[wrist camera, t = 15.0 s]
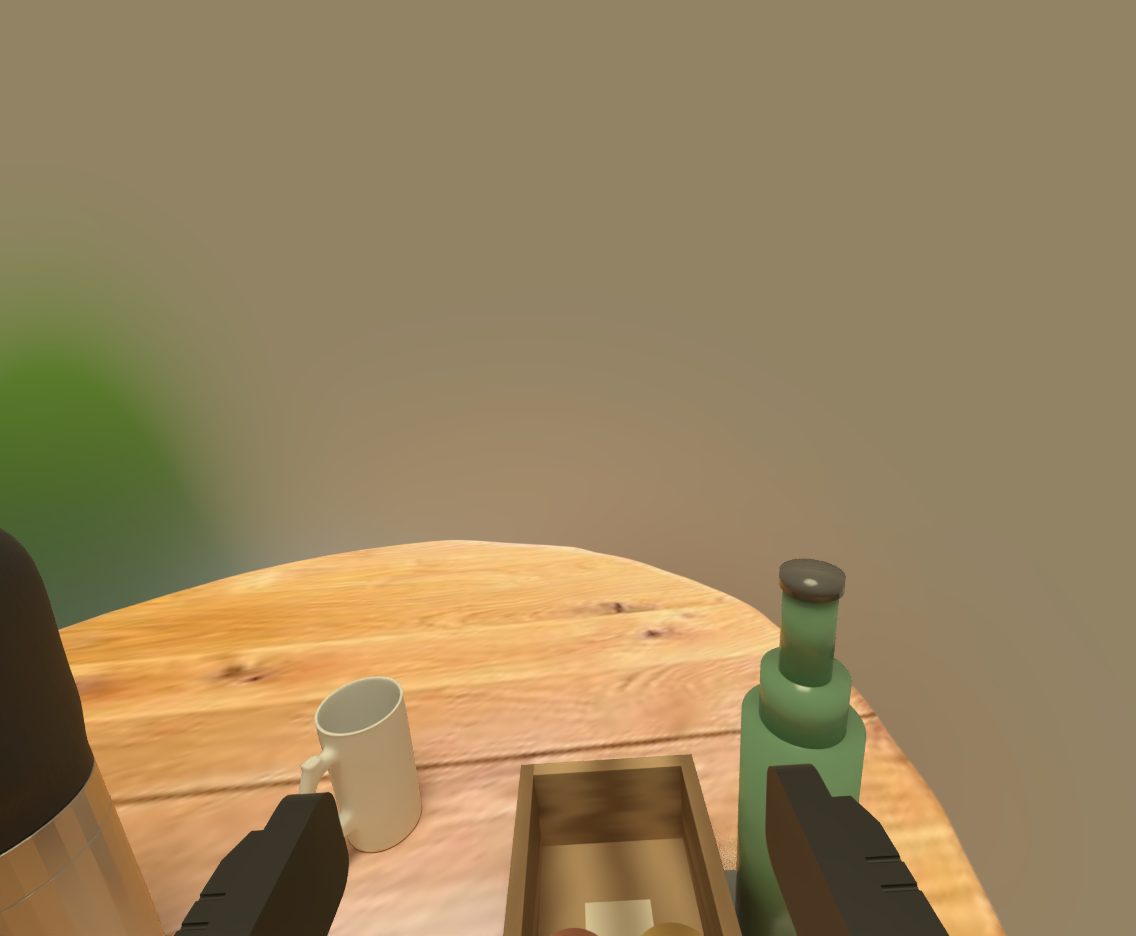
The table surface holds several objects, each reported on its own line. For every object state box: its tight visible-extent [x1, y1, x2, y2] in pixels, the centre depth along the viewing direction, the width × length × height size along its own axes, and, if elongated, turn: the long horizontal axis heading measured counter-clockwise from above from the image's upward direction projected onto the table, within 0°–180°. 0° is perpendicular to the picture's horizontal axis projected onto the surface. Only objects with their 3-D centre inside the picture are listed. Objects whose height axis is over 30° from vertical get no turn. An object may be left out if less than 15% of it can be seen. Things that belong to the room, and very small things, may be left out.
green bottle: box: [735, 559, 866, 936], centre depth 30 cm, size 6×6×27 cm
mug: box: [299, 676, 422, 852], centre depth 43 cm, size 10×7×12 cm, turn 154°
